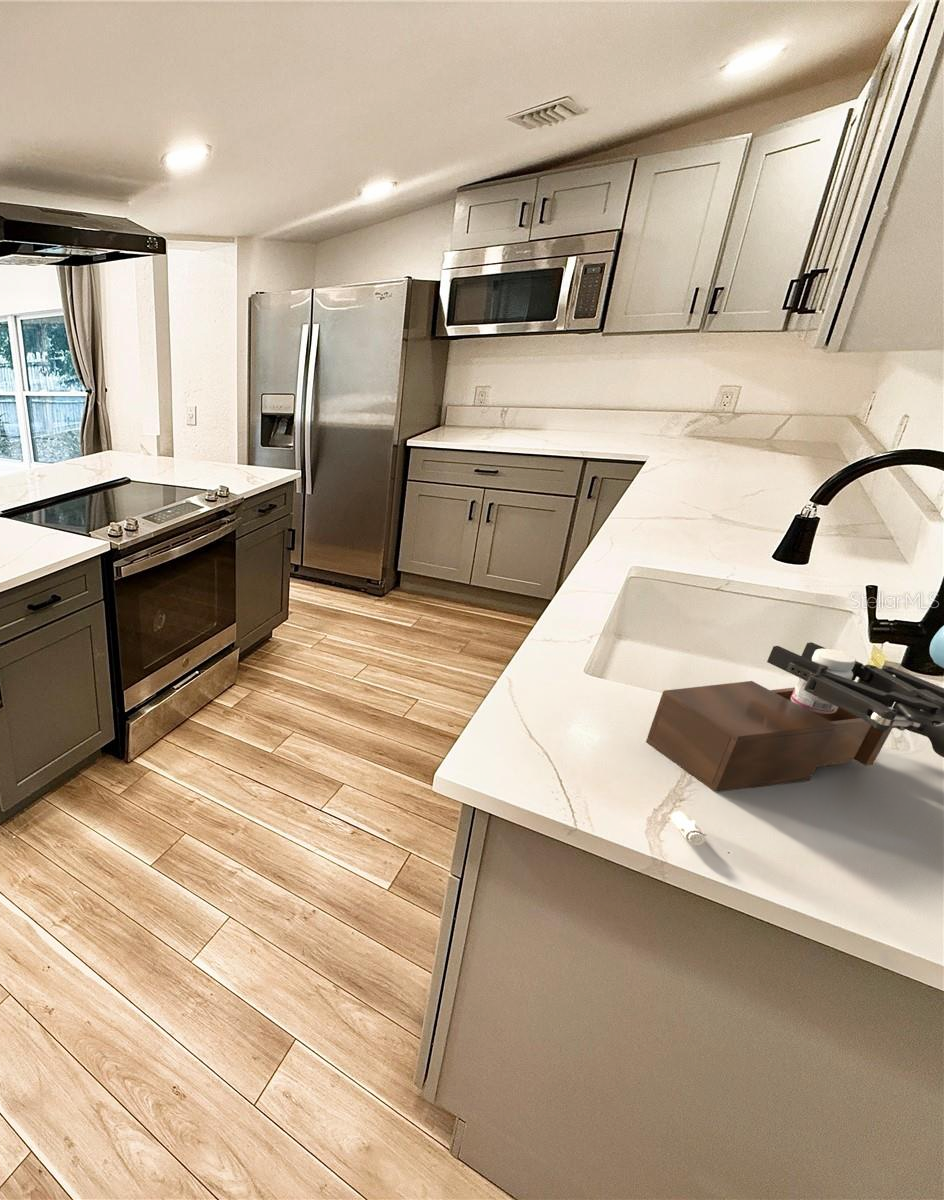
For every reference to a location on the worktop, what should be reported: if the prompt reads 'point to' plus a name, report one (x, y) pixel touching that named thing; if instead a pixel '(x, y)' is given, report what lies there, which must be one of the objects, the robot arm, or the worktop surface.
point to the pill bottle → (836, 665)
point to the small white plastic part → (688, 828)
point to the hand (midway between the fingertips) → (789, 652)
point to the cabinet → (739, 735)
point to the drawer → (849, 737)
